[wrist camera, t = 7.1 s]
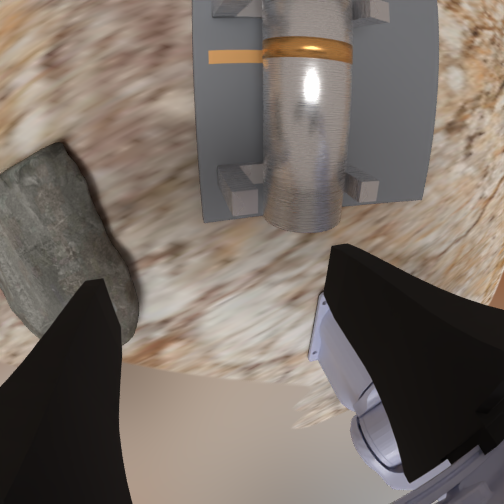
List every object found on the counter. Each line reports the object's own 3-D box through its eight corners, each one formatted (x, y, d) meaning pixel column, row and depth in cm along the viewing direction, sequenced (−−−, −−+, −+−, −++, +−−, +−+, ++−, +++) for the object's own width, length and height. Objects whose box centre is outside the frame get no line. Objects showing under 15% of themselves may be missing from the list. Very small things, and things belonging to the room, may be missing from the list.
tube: (316, 195, 19) (355, 225, 16) (252, 204, 18) (281, 238, 15) (322, -14, 12) (368, -31, 8) (249, -25, 11) (282, -54, 7)
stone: (165, 317, 22) (77, 133, 16) (170, 349, 19) (60, 132, 12) (60, 361, 21) (-33, 208, 14) (52, 394, 17) (-61, 223, 10)
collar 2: (337, 175, 19) (376, 201, 16) (217, 184, 18) (232, 216, 14) (338, 158, 19) (379, 181, 15) (216, 165, 17) (231, 192, 13)
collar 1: (343, 29, 14) (389, 22, 10) (211, 18, 12) (226, -4, 8) (343, 13, 13) (388, 3, 9) (211, -1, 11) (226, -27, 8)
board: (417, 197, 23) (421, 199, 22) (202, 219, 19) (204, 223, 19) (431, -3, 13) (436, -3, 13) (193, -55, 9) (193, -59, 9)
